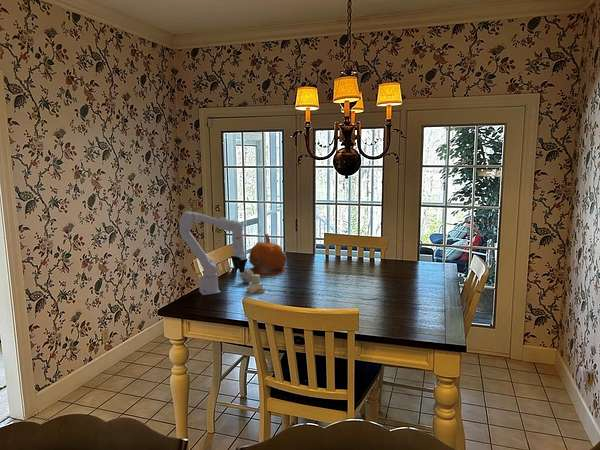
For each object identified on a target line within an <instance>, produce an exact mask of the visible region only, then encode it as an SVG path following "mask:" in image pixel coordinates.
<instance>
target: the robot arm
mask: <svg viewBox="0 0 600 450" xmlns="http://www.w3.org/2000/svg"><path fill="white" fill-rule="evenodd" d="M193 222H194V223H199V222H203V223H207V224H210V225H215V226H216V228H218V229H219V230H223V231H226V232H232V236H231V243H232V244H231V245H232V255H231V256H230V259H231V260H232V263H233V265H234V269H235V270H238V271H239V273H240V274H242V272H244V270H246V264H247V262H248V258H246V256H245V255H247V252H245V247H244V236H243V235H244V234H243V231H244V226H243V225H242V223H241V222H240V221H238V220H234V219H233V220H231V219H228V218H226V217H225V216H224V217H218V218H215V217H212V216H209V215H206V214H204V213H200V212H196V211H191V210H186V211H184V212H183V213H182V215H181V216H180V218H179V221H178V223H179V227H178V228H179V229H178V230H179V232H178V233H179V235H180V237H181V238H182V239H183V240H184V242H185V243H186V245H187V246H188V248H189V249H190V251H192V253H193V254H194V256H195V257H196V259H197V260H198V261H199V264H200V266H201V268H202V269H203V275H202V276H199V277H198V286H199V293H200V294H201V295H202V296H207V295H213V294H214V295H215V294H220V293H222V292H221V290H219V274H218V273H217V266H218V265H217V263H216V262H215V261H213V260H212V259H211V258H210V257H209V256H208V254H206V252H205V251H204V248H202V246H201V245H200V244H199V242H198V241H197V239H196V238H195V237H194V235H193V233H192V232H191V228H192V225H193Z"/></svg>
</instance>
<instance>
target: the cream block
mask: <svg viewBox="0 0 600 450" xmlns="http://www.w3.org/2000/svg"><path fill="white" fill-rule="evenodd" d="M263 286H264V285H263V283H262V282H261V281H260V284H252V282H250V283H248V287H250V288H251V289H252V290H256V289H263V288H264V287H263Z"/></svg>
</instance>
